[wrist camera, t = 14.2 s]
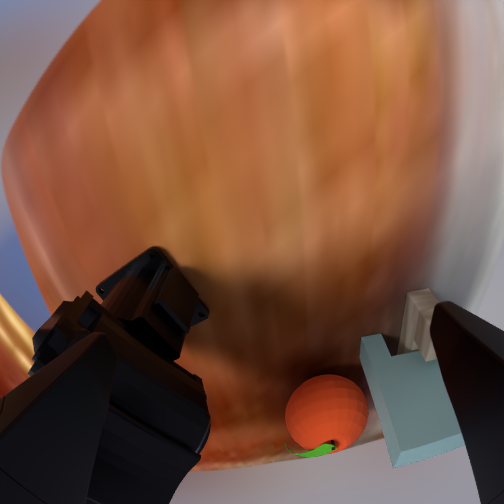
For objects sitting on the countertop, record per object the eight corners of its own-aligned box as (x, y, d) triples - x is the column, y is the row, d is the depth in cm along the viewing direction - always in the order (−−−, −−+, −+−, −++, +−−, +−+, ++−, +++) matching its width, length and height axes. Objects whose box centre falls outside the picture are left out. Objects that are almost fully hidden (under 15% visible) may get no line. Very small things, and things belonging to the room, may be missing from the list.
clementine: (303, 419, 29) (310, 479, 23) (257, 390, 27) (257, 456, 21) (371, 381, 27) (391, 442, 21) (331, 344, 25) (349, 414, 18)
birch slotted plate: (391, 379, 27) (406, 419, 22) (406, 292, 23) (433, 332, 18) (409, 375, 27) (426, 414, 22) (428, 288, 22) (457, 326, 18)
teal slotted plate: (359, 357, 25) (393, 468, 16) (361, 337, 24) (401, 451, 15) (440, 340, 25) (491, 433, 15) (445, 320, 24) (504, 414, 14)
